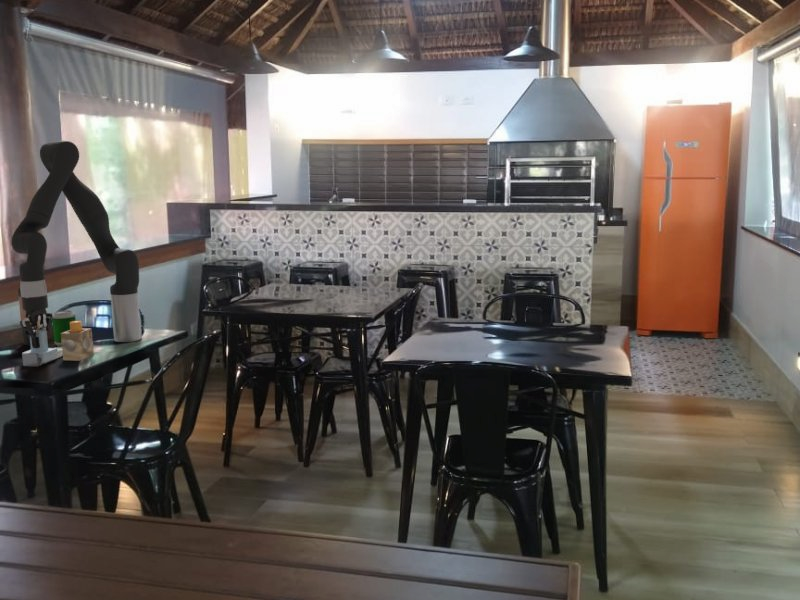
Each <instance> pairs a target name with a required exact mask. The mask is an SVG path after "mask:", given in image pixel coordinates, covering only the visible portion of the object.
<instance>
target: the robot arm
mask: <svg viewBox="0 0 800 600" xmlns="http://www.w3.org/2000/svg"><path fill="white" fill-rule="evenodd" d="M39 157H40V160H41V162H42V165H43V166H44V168H45V169H46V171H47V172H48V173H49V174H48V176H47V177H46V179H45V180H44V182H43V183H42V184H41V186H40V187H39V189H38V190H37V191H36V192H35V194H34V195H33V197H32V199H31V201H30V203H29V206H28V209H27V210H26V211H27V212H26V214H25V217H24V218H23V219H22V220H21V222H20V223H19V225H18V226H17V228H16V229H15V230H14V232H13V234H12V236H11V240H10V241H11V248H12V249H13V251H15V252H16V253H17V254H22V255H23V254H24V255H27V258H26V261H23V262H21V263H20V264H19V267H18V271H19V280H20V288H19V289H20V290H21V300H22V309H23V310H25V311H26V315H25V319H24V320H23V321H21V320H20V321H19V324H20V326H21V330H22V329H23V331H24V333H25V335H26V336H30V337H31V341H32V347H33V348H40V342H39V337H38V336H39V330H46V331H47V332H49V331H50V330H51V325H52V315H53V313H49V312H48V311H47V309H48V308H49V302H48V299H49V298H48V291H47V290H48V289H47V283H46V279H45V269H44V268H45V267H44V265H45V261H46V256H47V249H48V244H47V240H46V237H45V236H44V235H43V234H42V233H41V232H39V231H41V230H43V229H46V228H47V227H48V226H49V224H50V221H51V219H52V215H53V213H54V211H55V207H56V205H57V202H58V200H59V199H60V196H61V194H62V193H63V194H64V196H65V198H66V200H67V201H68V203H69V204H70V207H71V208H72V210H73V212H74V213H75V215H76V216H77V218H78V220H79V221H80V224H82V227H83V228H84V230H85V231H86V232H87V235H88V237H89V238H90V239H91V242H92V243H93V244H94V247H95V249H96V251H97V253H98V255H99V257H100V260H101V262H102V264H103V267H104V268H105V269H106V270H107V271H108V272H110V273H111V274H114V275H115V283H114V284H112V285H110V288H109V292H110V293H109V294H110V303H111V316H112V329H113V330H112V331H113V339H114V342H116V343H129V342H136V341H140V340H141V339H142V336H143V335H142V323H141V311H140V307H139V306H140V305H139V304H140V303H139V294H138V293H139V291H138V287H139V284H140V264H139V258H138V256H137V254H136V252H135V251H133V250H131V249H127V248H121V247H120V246H119V245H118V243H117V242H116V241H115V239H114V237H113V236H112V233H111V230H110V219H109V218H110V217H109V215H108V212H107V210H106V207H105V206H104V204H103V202H102V201H101V199H100V198H99V196H98V195H97V194H96V193H95V192H94V191H93V190H92V189H91V188H89V187H88V186H87V185H86V184H85V183H83V181H82V180H81V179H79V178H78V176H77V175H76V173H75V172H74V170H75V168H76V166H77V165H78V163H79V160H80V151H79V149H78V146H77V145H76V144H75V143H74V142H72V141H70V140H57V141H49V142H46V143H44V144H42V145H41V147H40V148H39ZM32 326H35V327H32ZM33 330H35V333H34V331H33ZM28 331H29V332H28Z"/></svg>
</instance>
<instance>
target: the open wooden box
mask: <svg viewBox="0 0 800 600" xmlns="http://www.w3.org/2000/svg"><path fill="white" fill-rule="evenodd" d="M93 340H94V339H93V330H92V328H89V327H88V328H86V327H85V328H84V327H82V331H81V332H79V333H78V332H70V330H69V331H66V332H63V333H61V341H62V352H63V356H62V360H63V361H76V362H77V361H78V362H81V361H83V360H85V359H87V357H88V358H90V357H92V356H94V355H95V353H94V352H95V350H94V341H93ZM89 356H90V357H89Z"/></svg>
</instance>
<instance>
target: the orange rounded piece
mask: <svg viewBox="0 0 800 600" xmlns="http://www.w3.org/2000/svg"><path fill="white" fill-rule="evenodd" d="M82 323H83V322H82V321H81V320H76V321H72V322H70V332H78V333H79V332H81V331H82V328H83V324H82Z"/></svg>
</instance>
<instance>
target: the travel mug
mask: <svg viewBox="0 0 800 600" xmlns="http://www.w3.org/2000/svg"><path fill="white" fill-rule="evenodd" d="M17 293H18V304H19V305H18V306H19V316H20V321H23V320H24V319H25V315H26V311H25V310H23V309H22V300H21V290H20V288H18V289H17ZM32 327H35V326H32ZM21 332H22V337H23V339H22V340H23V344H24V345H25V346H30V347H31V345H30V336H26V335H25V333H24V331H23V329H22V328H21ZM28 332H29V331H28Z"/></svg>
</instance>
